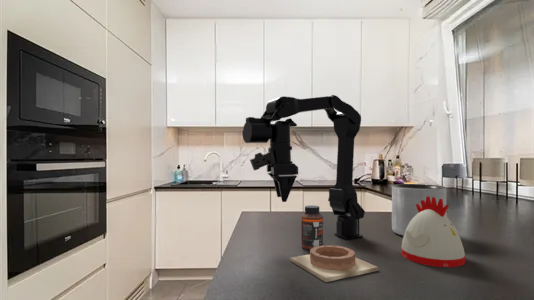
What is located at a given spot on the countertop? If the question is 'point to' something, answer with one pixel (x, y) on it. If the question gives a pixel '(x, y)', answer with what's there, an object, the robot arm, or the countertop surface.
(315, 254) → the collar stand
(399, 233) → the planter
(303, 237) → the supplement bottle
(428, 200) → the kitchen timer
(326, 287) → the countertop surface
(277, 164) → the robot arm
